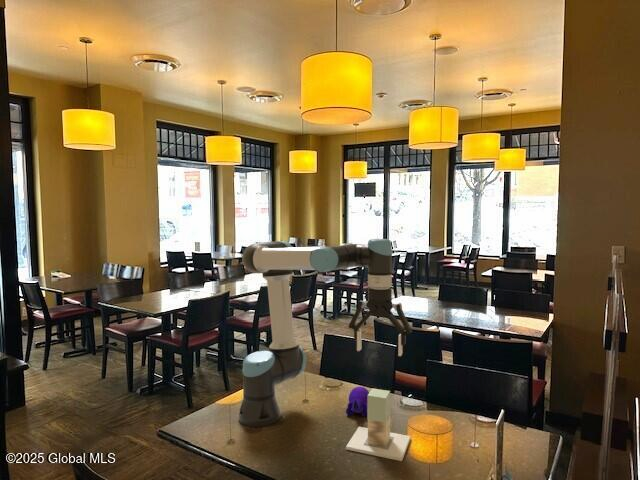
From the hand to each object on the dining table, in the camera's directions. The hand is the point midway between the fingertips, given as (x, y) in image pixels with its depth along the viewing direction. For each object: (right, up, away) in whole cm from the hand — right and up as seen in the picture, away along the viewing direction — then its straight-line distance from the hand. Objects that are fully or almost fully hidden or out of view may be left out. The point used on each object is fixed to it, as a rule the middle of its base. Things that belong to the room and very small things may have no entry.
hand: (379, 352), depth 142 cm
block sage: (0, -21, +1) cm, 22 cm away
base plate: (0, -31, +2) cm, 31 cm away
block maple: (0, -29, +2) cm, 30 cm away
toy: (-5, -29, +24) cm, 38 cm away
